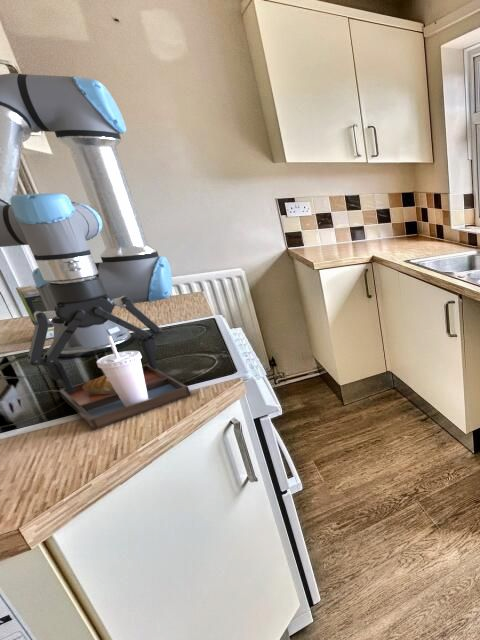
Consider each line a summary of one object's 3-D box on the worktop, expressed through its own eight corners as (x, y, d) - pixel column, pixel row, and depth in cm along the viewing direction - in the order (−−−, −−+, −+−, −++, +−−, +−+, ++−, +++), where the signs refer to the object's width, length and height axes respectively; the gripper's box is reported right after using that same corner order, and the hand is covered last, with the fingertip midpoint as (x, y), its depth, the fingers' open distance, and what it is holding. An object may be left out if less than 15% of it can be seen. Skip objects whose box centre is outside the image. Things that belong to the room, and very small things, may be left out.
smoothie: (110, 413, 79) (80, 344, 74) (120, 399, 84) (93, 333, 79) (152, 404, 82) (126, 337, 76) (160, 391, 87) (136, 327, 82)
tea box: (102, 320, 138) (84, 275, 132) (111, 325, 132) (92, 279, 127) (36, 334, 126) (14, 285, 121) (43, 340, 121) (19, 290, 115)
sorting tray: (62, 398, 87) (58, 389, 86) (151, 371, 98) (148, 363, 97) (94, 429, 75) (90, 420, 74) (191, 395, 86) (187, 386, 86)
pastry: (77, 400, 84) (70, 383, 83) (97, 385, 90) (90, 369, 89) (134, 392, 87) (127, 375, 85) (149, 378, 93) (143, 363, 91)
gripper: (-24, 297, 69) (33, 410, 76) (159, 269, 88) (190, 361, 95) (-31, 291, 73) (25, 399, 80) (146, 265, 92) (177, 354, 99)
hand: (115, 379), depth 88 cm, fingers open, 13 cm apart
